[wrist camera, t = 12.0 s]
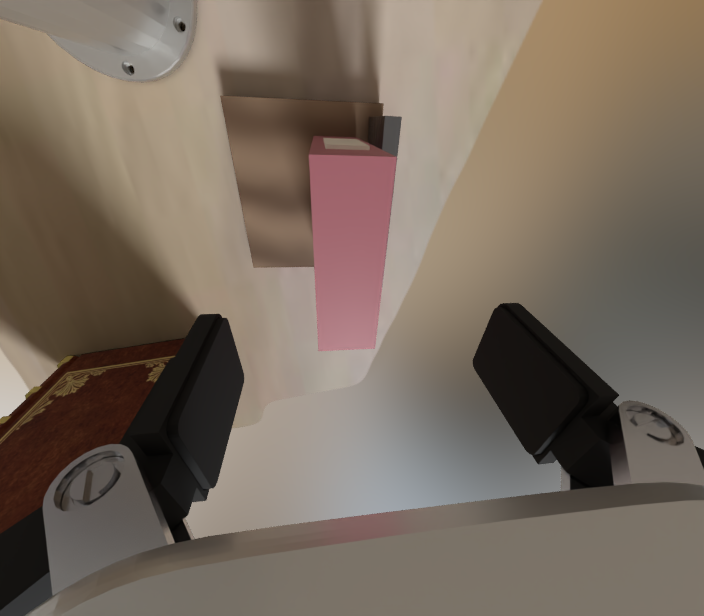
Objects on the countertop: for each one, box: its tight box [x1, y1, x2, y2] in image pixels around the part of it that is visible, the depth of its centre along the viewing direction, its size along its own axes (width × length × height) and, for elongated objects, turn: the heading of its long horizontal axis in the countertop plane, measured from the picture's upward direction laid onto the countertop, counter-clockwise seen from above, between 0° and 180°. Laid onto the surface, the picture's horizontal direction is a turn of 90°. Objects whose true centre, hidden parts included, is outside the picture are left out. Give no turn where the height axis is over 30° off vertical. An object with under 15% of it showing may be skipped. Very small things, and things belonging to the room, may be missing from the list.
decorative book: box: [0, 339, 185, 534], centre depth 29 cm, size 22×8×30 cm, turn 97°
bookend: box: [368, 116, 402, 285], centre depth 26 cm, size 14×1×7 cm, turn 178°
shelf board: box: [220, 96, 383, 268], centre depth 29 cm, size 16×14×2 cm
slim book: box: [309, 136, 397, 351], centre depth 22 cm, size 12×4×16 cm, turn 178°
